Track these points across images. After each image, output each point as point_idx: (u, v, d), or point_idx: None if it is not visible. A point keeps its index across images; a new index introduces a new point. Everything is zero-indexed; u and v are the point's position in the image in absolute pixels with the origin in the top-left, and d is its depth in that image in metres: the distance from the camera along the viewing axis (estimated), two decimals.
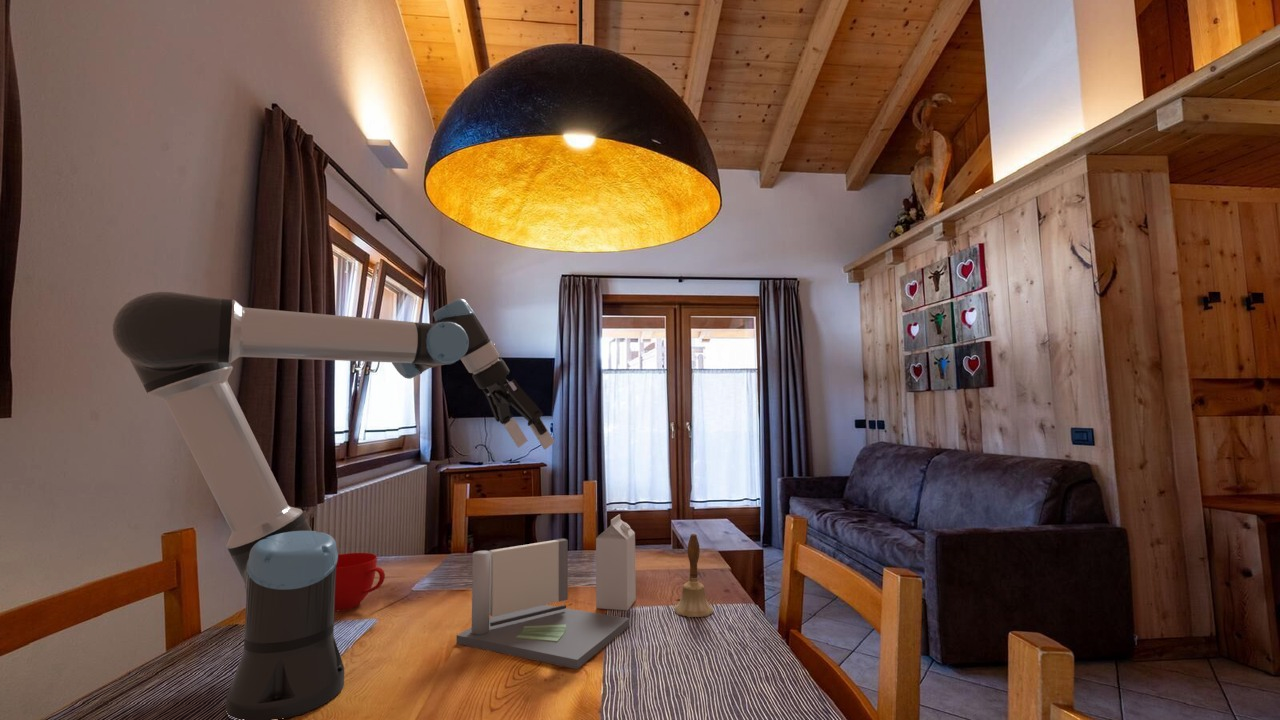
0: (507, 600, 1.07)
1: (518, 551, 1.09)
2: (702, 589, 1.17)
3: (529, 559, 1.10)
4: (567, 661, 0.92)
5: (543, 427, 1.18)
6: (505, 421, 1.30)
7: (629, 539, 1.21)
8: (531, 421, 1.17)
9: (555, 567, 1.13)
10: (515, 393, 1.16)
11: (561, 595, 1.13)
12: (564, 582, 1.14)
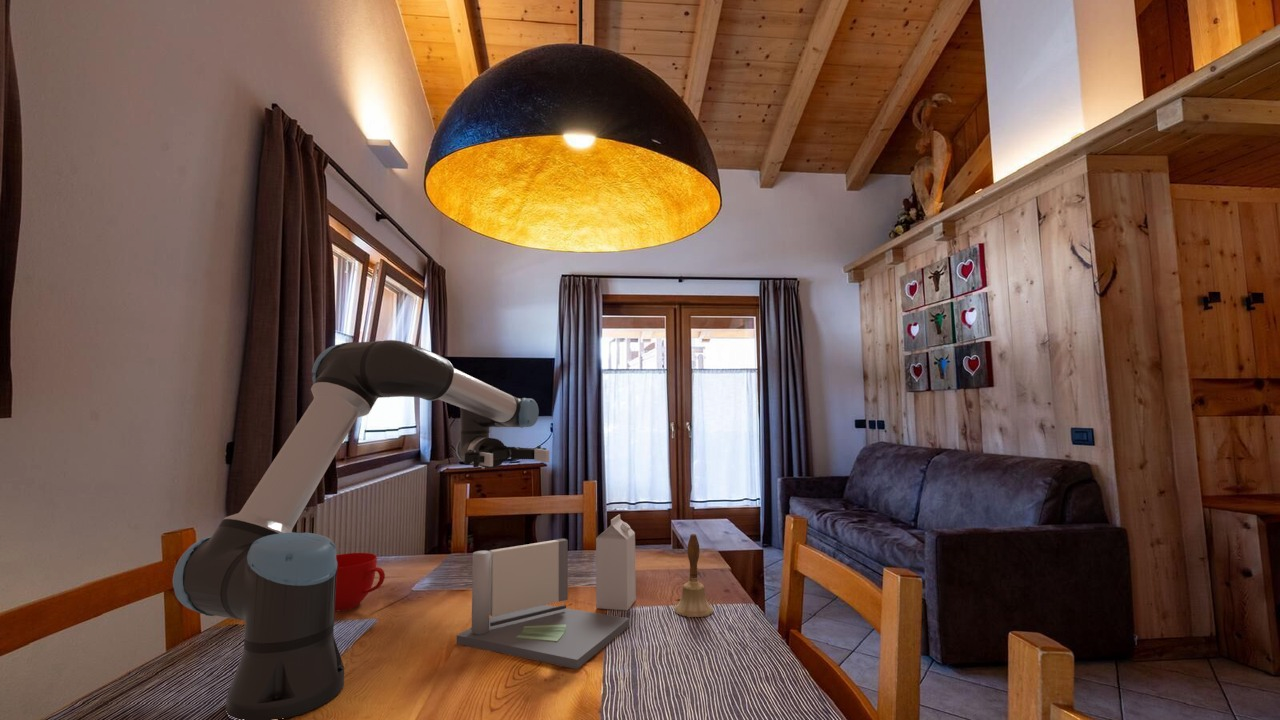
0: (507, 600, 1.07)
1: (518, 551, 1.09)
2: (702, 589, 1.17)
3: (529, 559, 1.10)
4: (567, 661, 0.92)
5: None
6: None
7: (629, 539, 1.21)
8: None
9: (555, 567, 1.13)
10: None
11: (561, 595, 1.13)
12: (564, 582, 1.14)
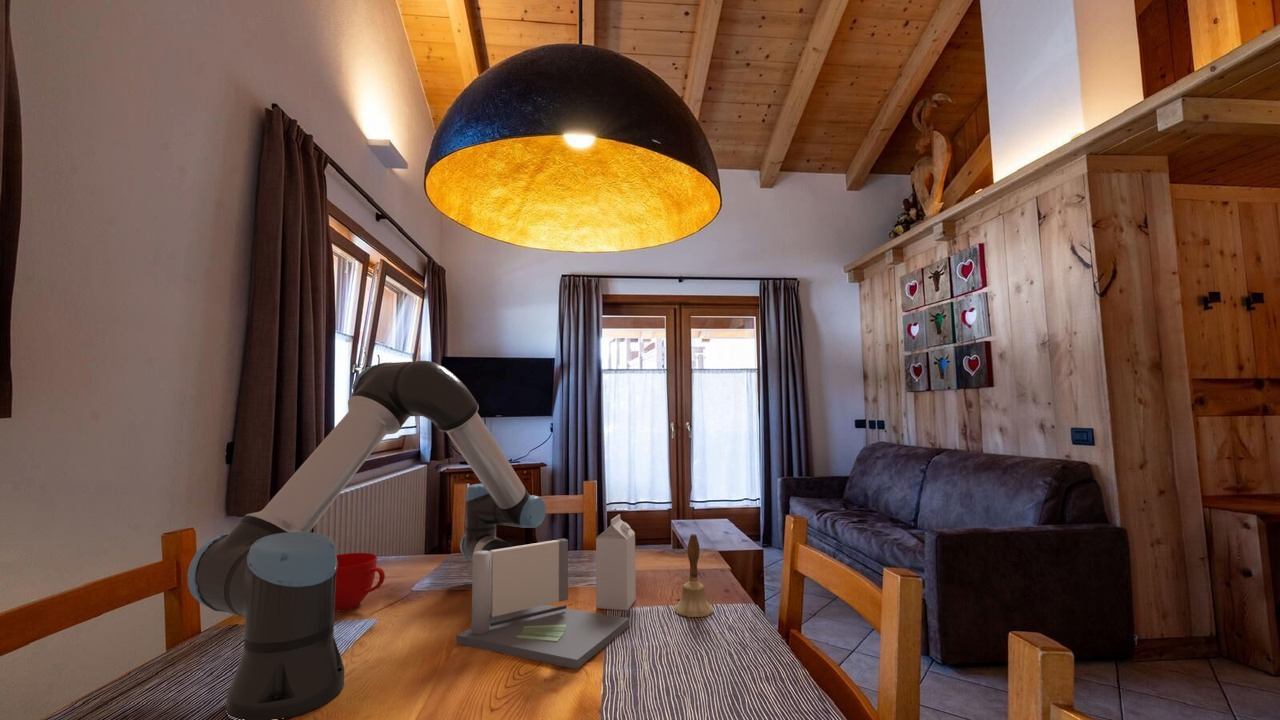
0: (507, 600, 1.07)
1: (518, 551, 1.09)
2: (702, 589, 1.17)
3: (529, 559, 1.10)
4: (567, 661, 0.92)
5: None
6: None
7: (629, 539, 1.21)
8: None
9: (555, 567, 1.13)
10: None
11: (562, 595, 1.13)
12: (564, 583, 1.14)
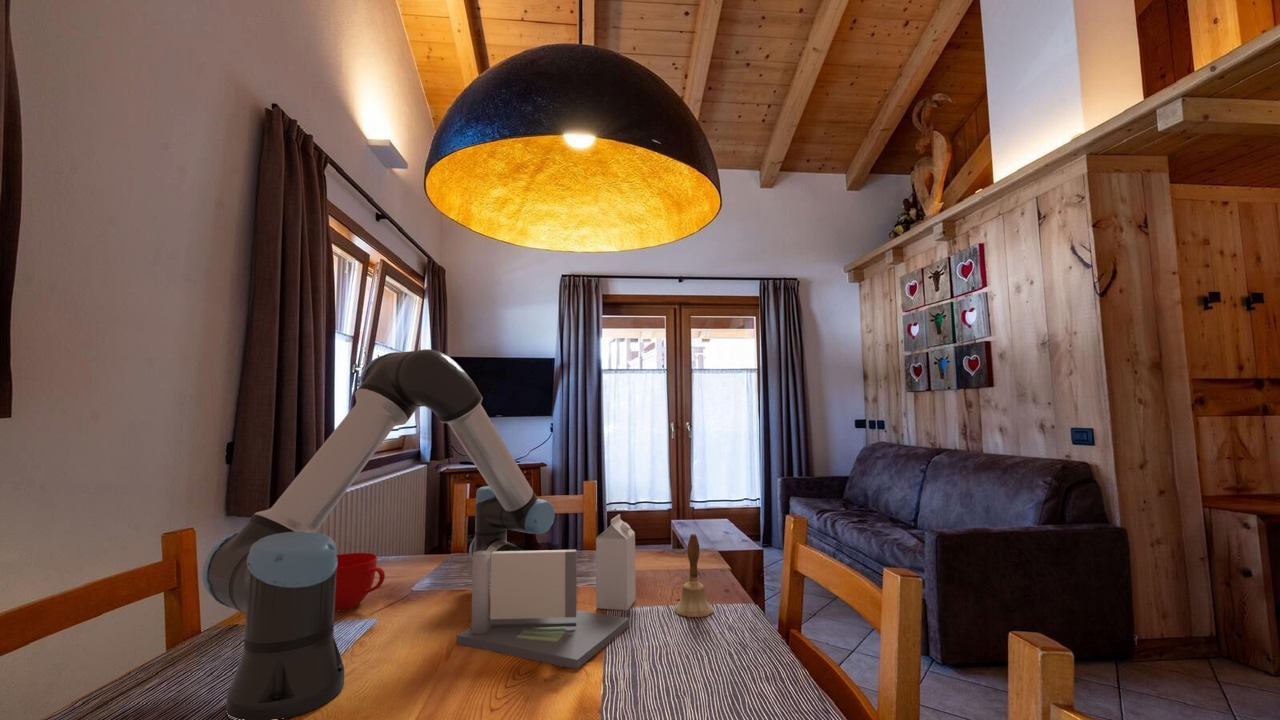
0: (506, 605, 1.04)
1: (518, 556, 1.05)
2: (702, 589, 1.17)
3: (530, 566, 1.05)
4: (567, 661, 0.92)
5: None
6: None
7: (629, 539, 1.21)
8: None
9: (561, 579, 1.05)
10: None
11: (568, 611, 1.04)
12: (571, 598, 1.04)
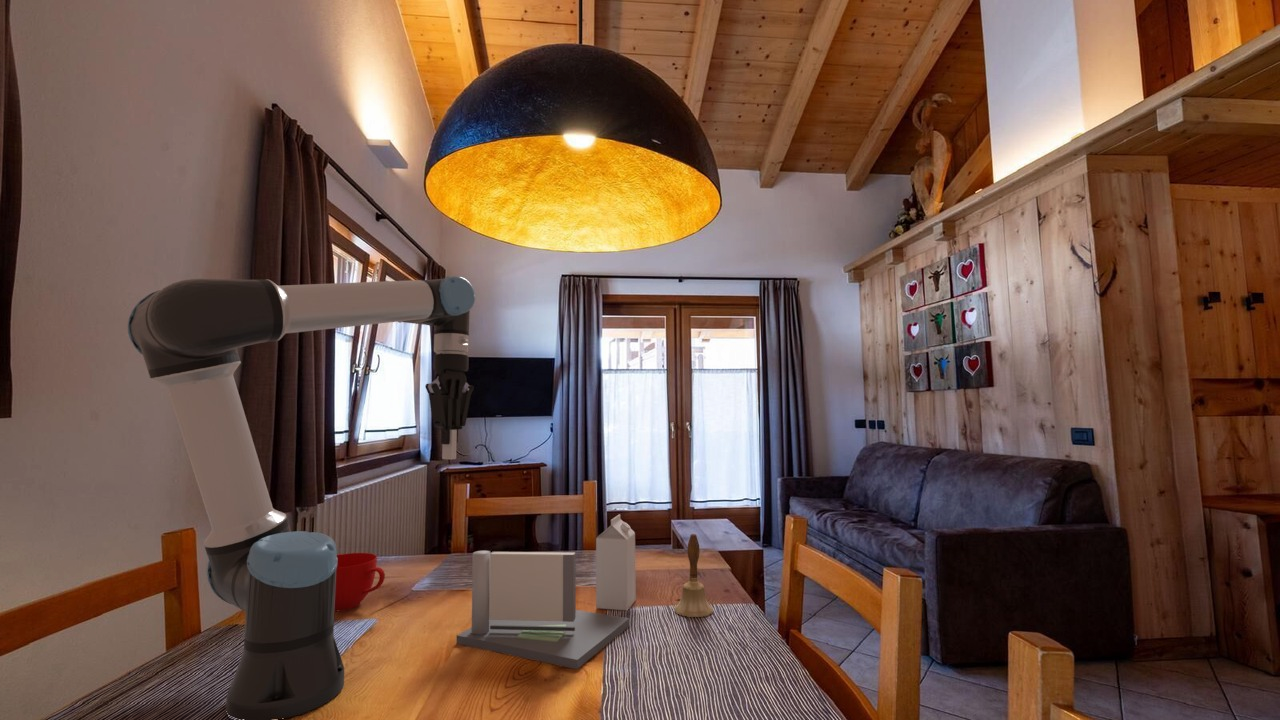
0: (505, 606, 1.03)
1: (516, 558, 1.04)
2: (702, 589, 1.17)
3: (529, 568, 1.03)
4: (567, 661, 0.92)
5: (444, 439, 1.22)
6: None
7: (629, 539, 1.21)
8: (439, 428, 1.23)
9: (559, 582, 1.03)
10: (431, 395, 1.20)
11: (566, 615, 1.02)
12: (569, 602, 1.02)
